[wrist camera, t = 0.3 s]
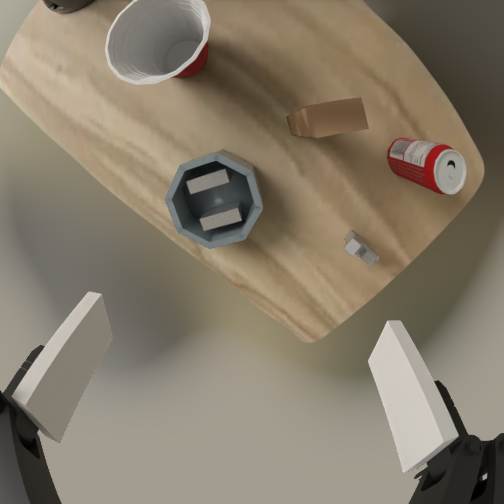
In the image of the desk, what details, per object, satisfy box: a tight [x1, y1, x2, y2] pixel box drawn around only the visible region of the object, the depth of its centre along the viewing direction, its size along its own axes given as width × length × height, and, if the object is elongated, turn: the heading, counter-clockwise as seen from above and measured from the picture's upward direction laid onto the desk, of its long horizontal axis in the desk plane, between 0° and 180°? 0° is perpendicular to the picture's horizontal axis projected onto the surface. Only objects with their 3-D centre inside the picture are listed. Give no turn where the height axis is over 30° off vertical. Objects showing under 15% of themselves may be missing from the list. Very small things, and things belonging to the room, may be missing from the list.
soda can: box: [387, 138, 467, 195], centre depth 27 cm, size 6×6×12 cm
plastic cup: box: [105, 0, 211, 85], centre depth 22 cm, size 11×11×12 cm
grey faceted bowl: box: [165, 150, 263, 249], centre depth 33 cm, size 11×11×6 cm
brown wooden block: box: [287, 97, 369, 138], centre depth 24 cm, size 2×4×16 cm, turn 106°
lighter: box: [344, 230, 380, 267], centre depth 34 cm, size 7×2×8 cm, turn 55°
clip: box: [186, 166, 244, 231], centre depth 33 cm, size 6×5×4 cm
